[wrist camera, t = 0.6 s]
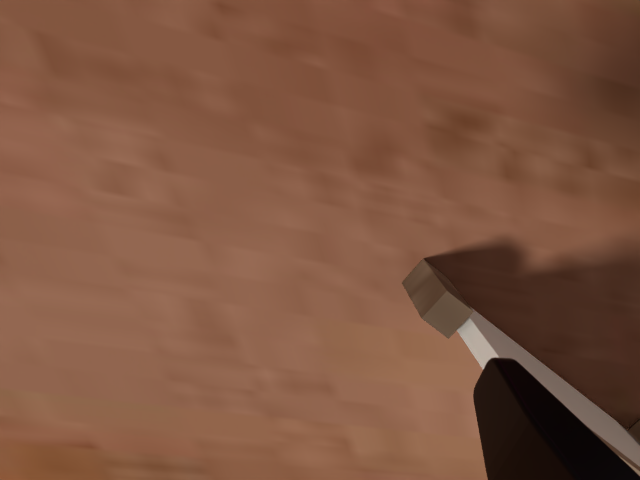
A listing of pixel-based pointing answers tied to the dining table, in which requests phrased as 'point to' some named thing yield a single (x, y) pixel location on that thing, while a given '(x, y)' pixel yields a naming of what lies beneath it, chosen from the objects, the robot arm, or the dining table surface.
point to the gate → (549, 385)
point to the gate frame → (446, 305)
